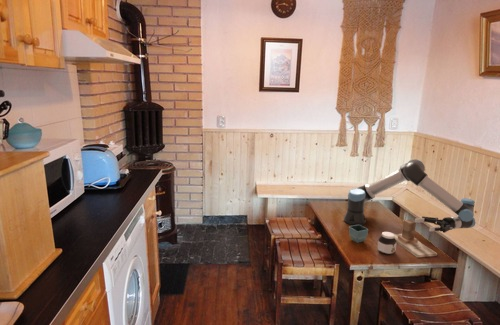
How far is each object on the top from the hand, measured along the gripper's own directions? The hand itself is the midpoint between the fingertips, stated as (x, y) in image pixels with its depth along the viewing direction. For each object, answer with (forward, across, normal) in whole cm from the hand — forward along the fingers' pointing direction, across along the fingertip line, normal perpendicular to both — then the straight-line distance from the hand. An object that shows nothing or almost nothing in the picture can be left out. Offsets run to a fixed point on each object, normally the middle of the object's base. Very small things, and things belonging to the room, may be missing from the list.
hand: (422, 224), depth 212 cm
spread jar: (+30, -8, -12) cm, 33 cm away
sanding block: (+10, -1, -10) cm, 14 cm away
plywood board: (+10, -5, -11) cm, 16 cm away
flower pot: (+40, +6, -12) cm, 42 cm away
